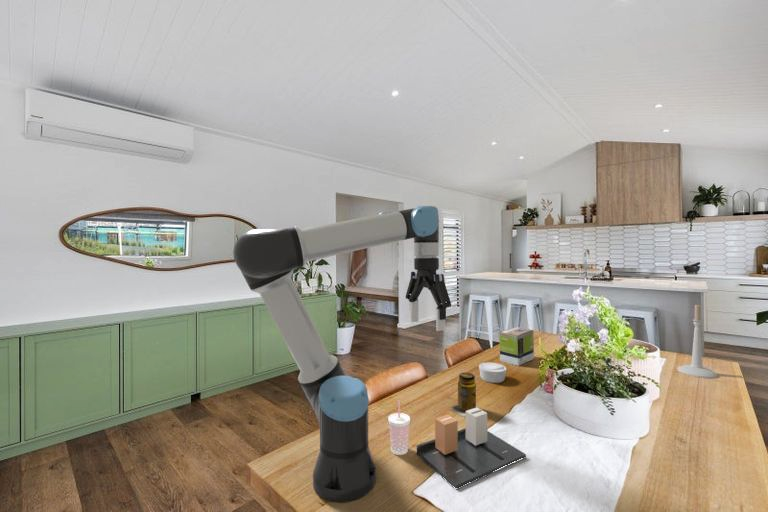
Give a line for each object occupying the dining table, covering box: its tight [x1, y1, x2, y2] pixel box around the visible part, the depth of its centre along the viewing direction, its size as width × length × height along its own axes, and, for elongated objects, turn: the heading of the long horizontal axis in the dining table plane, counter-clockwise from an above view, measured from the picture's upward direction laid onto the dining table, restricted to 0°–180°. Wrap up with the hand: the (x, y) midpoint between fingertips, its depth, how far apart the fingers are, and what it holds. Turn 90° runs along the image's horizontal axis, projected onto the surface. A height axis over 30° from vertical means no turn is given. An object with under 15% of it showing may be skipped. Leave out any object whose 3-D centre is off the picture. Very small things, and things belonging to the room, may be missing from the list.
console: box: [416, 427, 527, 489], centre depth 94 cm, size 24×16×2 cm, turn 119°
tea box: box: [499, 326, 535, 367], centre depth 171 cm, size 15×10×15 cm
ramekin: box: [478, 362, 507, 384], centre depth 148 cm, size 11×11×5 cm
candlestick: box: [677, 303, 718, 379], centre depth 152 cm, size 13×13×30 cm
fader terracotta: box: [434, 414, 459, 455], centre depth 95 cm, size 4×4×8 cm
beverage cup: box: [387, 399, 411, 456], centre depth 97 cm, size 6×6×14 cm
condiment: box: [448, 372, 477, 418], centre depth 121 cm, size 7×8×12 cm
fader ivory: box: [465, 407, 488, 446], centre depth 99 cm, size 4×4×8 cm
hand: (426, 325), depth 108 cm, fingers open, 13 cm apart
